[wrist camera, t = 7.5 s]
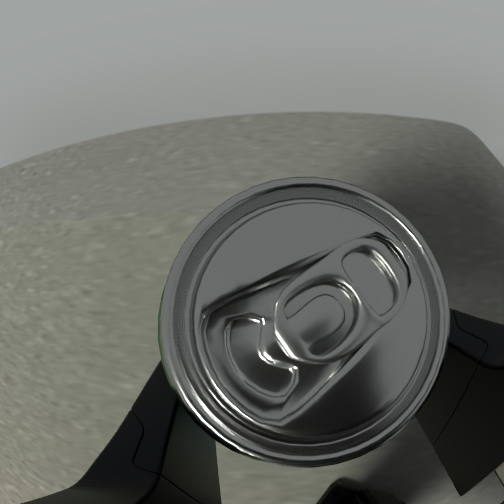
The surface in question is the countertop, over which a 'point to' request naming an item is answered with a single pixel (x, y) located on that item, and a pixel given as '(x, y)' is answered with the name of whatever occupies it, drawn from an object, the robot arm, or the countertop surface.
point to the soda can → (304, 322)
